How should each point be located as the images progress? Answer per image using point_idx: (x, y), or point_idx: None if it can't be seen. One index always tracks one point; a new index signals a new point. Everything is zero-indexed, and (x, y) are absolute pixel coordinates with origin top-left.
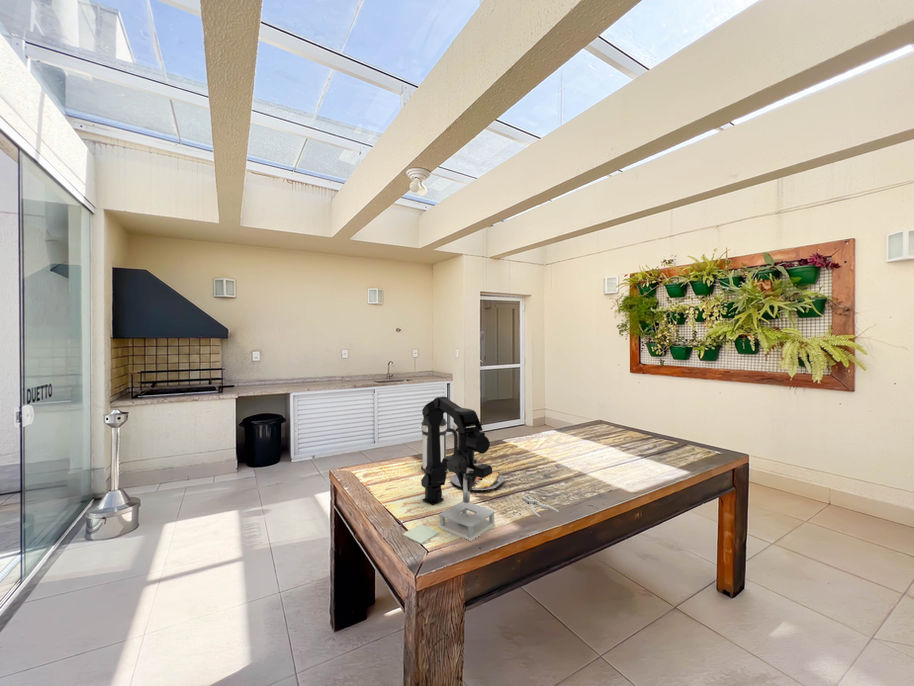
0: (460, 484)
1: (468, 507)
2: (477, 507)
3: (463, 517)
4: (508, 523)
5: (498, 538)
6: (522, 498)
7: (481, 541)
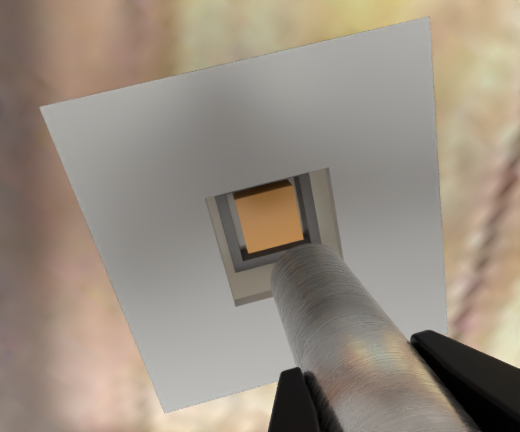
0: (510, 370)
1: None
2: None
3: (228, 159)
4: (145, 412)
5: (28, 274)
6: None
7: (52, 165)
